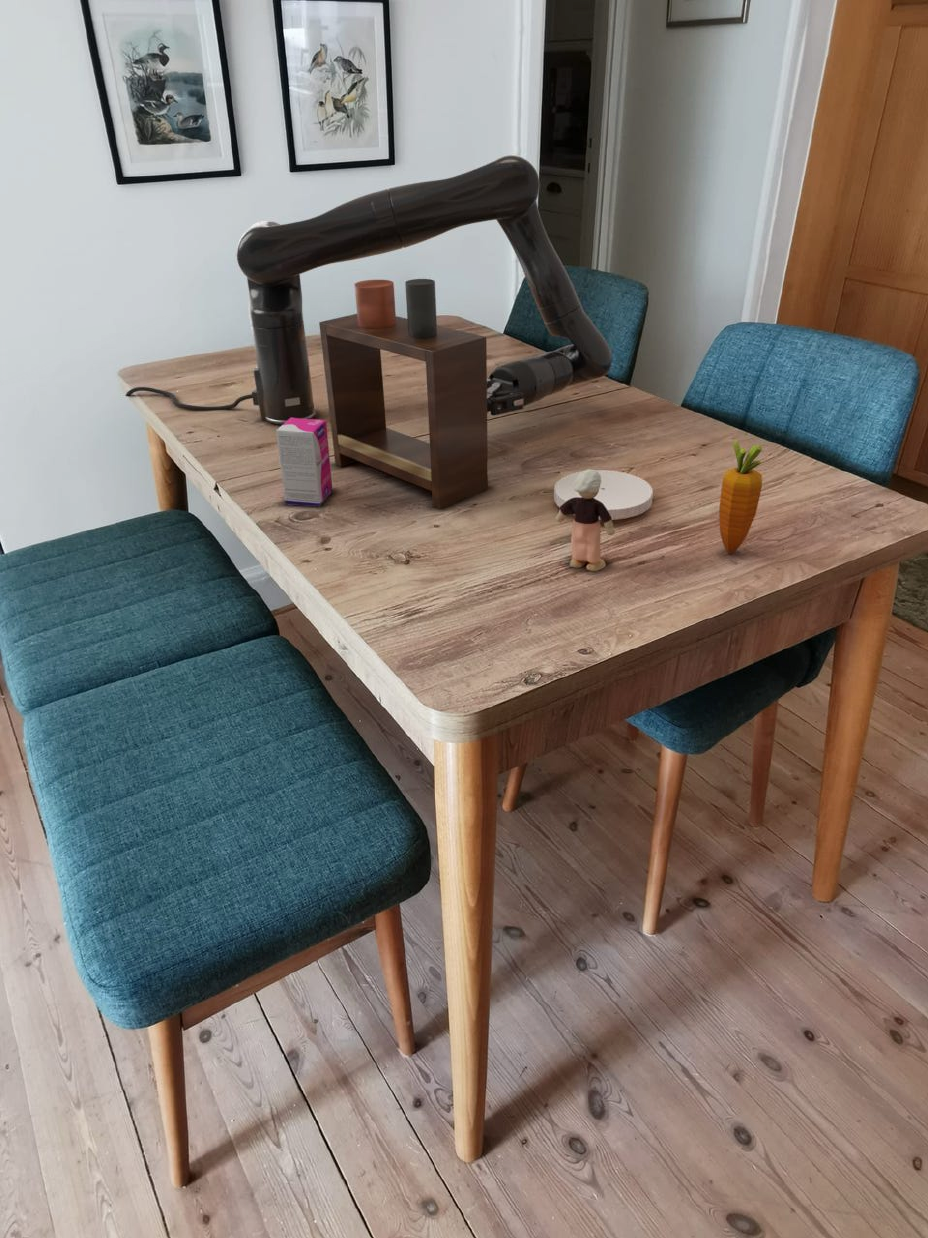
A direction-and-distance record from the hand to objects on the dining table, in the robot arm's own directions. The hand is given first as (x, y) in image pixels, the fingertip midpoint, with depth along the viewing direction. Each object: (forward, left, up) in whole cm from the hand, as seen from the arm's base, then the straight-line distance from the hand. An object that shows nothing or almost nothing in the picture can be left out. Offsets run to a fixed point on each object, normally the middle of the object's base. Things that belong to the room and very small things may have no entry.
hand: (450, 407), depth 132 cm
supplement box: (-17, -19, -9) cm, 27 cm away
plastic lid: (+26, -12, -9) cm, 30 cm away
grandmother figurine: (+26, -30, -9) cm, 41 cm away
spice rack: (-5, -8, -9) cm, 13 cm away
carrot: (+44, -23, -9) cm, 51 cm away
